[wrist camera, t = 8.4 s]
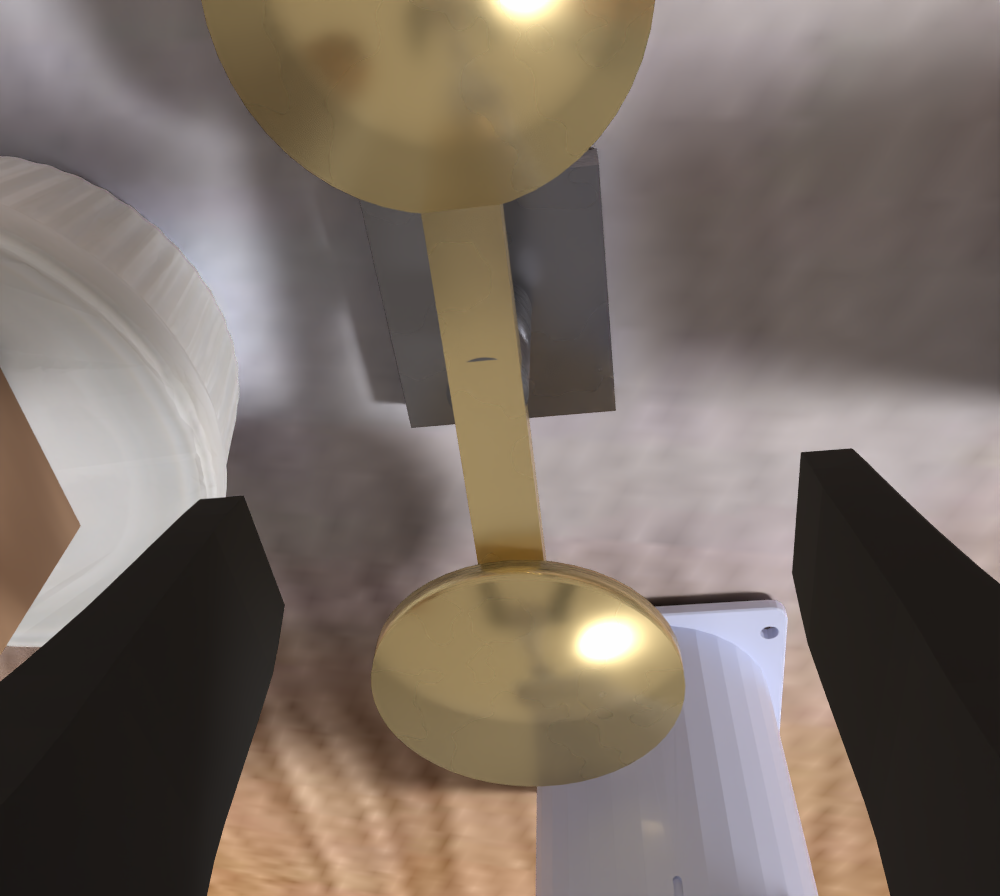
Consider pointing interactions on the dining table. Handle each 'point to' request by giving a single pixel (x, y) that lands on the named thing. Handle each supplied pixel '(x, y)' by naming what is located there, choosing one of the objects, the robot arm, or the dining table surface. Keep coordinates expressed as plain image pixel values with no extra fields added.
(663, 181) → the dining table surface
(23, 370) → the ramekin
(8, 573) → the block
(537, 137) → the balance
